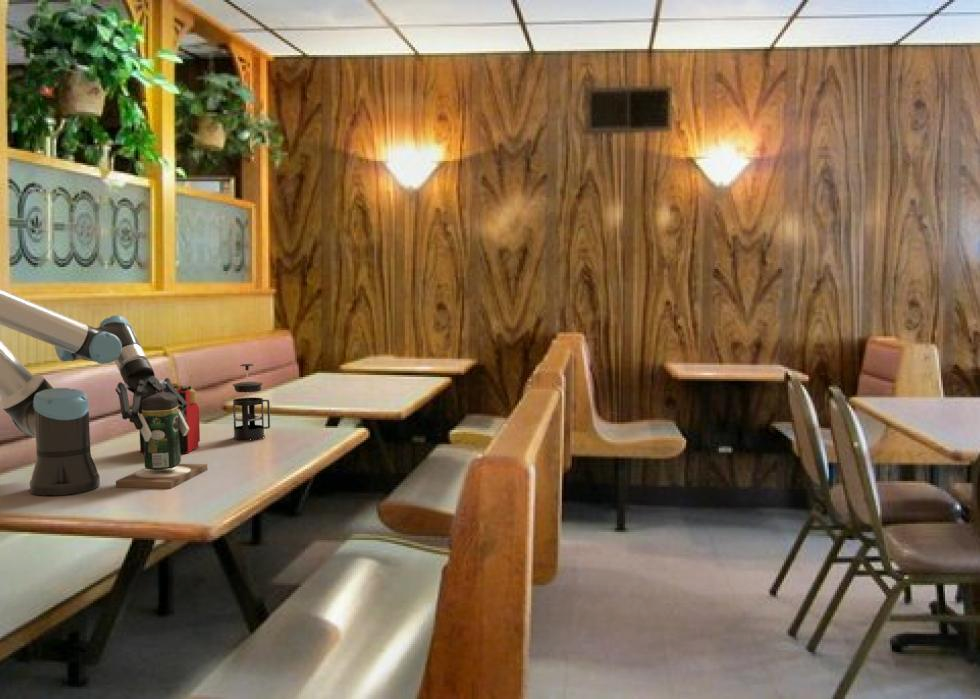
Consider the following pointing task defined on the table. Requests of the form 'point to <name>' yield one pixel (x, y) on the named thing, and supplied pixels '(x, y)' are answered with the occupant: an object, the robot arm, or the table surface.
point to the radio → (192, 420)
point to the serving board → (161, 476)
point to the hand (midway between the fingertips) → (167, 435)
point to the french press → (249, 411)
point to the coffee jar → (161, 431)
